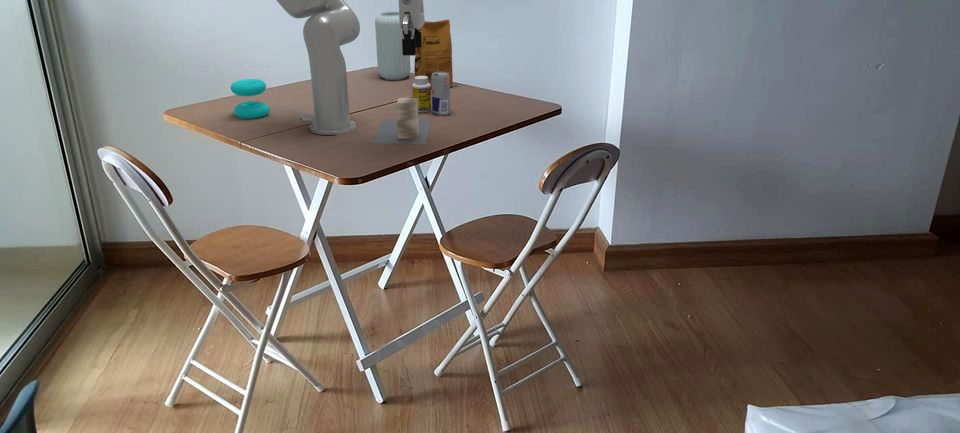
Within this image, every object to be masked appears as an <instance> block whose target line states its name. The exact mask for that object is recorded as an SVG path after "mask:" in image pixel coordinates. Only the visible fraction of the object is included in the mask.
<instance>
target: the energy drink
mask: <svg viewBox="0 0 960 433" xmlns="http://www.w3.org/2000/svg"><path fill="white" fill-rule="evenodd" d="M431 83H432V88H431V111H432V114H433V115H434V116H439V117H441V116H443V117H444V116H448V115H450V114H451V87H450V76H449V73H447V72H434V73H432V76H431Z"/></svg>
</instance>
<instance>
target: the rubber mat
mask: <svg viewBox="0 0 960 433" xmlns="http://www.w3.org/2000/svg"><path fill="white" fill-rule="evenodd" d="M432 123H433V119H418V126H419V135H418V138H417V140H398V128H397V119H383V120H382V122H381V124H380V126H379V129H378V130H377V133H376V135H375V136H374V138H373V140H372V142H371V145H426V142H427V139H428V136H429V132H430V128H431V127H432V126H431V125H432Z"/></svg>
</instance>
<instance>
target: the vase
mask: <svg viewBox="0 0 960 433" xmlns="http://www.w3.org/2000/svg"><path fill="white" fill-rule="evenodd" d="M374 26H375V27H374V28H375V39H376V40H375V43H376V44H375V45H376V59H377V60H376V61H377V73H378V74H379V76H381V78H383V79H384V80H388V81H400V80H403V79H406V78H407V77H408V76H409V75H410V73H411V56H407V55H403V52H402V29H401V28H400V20H399V11H384V12H380V14H378V15H377V16H376V18H375V20H374Z"/></svg>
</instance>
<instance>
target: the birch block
mask: <svg viewBox="0 0 960 433" xmlns="http://www.w3.org/2000/svg"><path fill="white" fill-rule="evenodd" d="M395 106H396V120H397V128H398V140H417V138H418V135H419V126H418V120H419V112H418V99H417V98H413V97H398V99H397V101H396V103H395Z"/></svg>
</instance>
